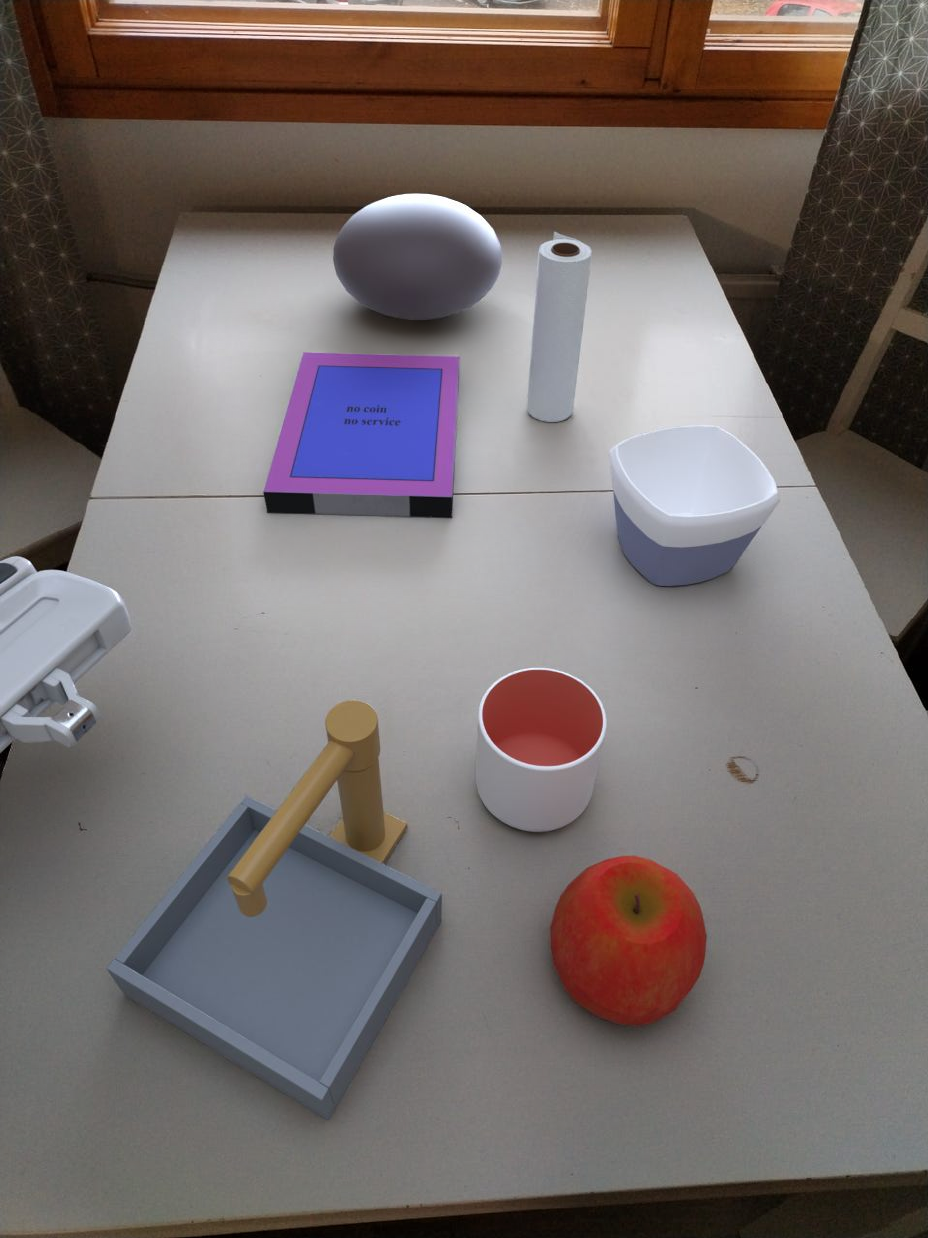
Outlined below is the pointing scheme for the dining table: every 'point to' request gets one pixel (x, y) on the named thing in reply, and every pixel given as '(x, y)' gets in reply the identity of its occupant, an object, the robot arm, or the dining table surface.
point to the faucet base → (366, 815)
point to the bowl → (688, 501)
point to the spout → (306, 798)
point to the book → (368, 437)
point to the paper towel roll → (557, 327)
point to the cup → (538, 748)
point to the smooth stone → (417, 256)
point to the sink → (282, 957)
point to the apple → (628, 940)
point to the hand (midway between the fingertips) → (84, 727)
